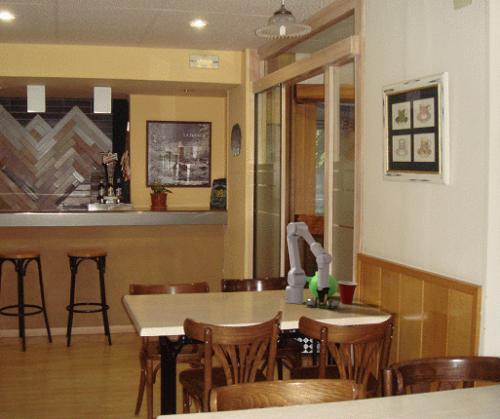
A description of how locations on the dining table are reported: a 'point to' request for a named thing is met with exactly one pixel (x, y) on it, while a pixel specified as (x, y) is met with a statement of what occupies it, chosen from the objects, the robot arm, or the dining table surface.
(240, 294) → the dining table surface
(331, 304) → the grey metal fittings
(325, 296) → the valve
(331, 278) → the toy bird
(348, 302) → the plastic cup
